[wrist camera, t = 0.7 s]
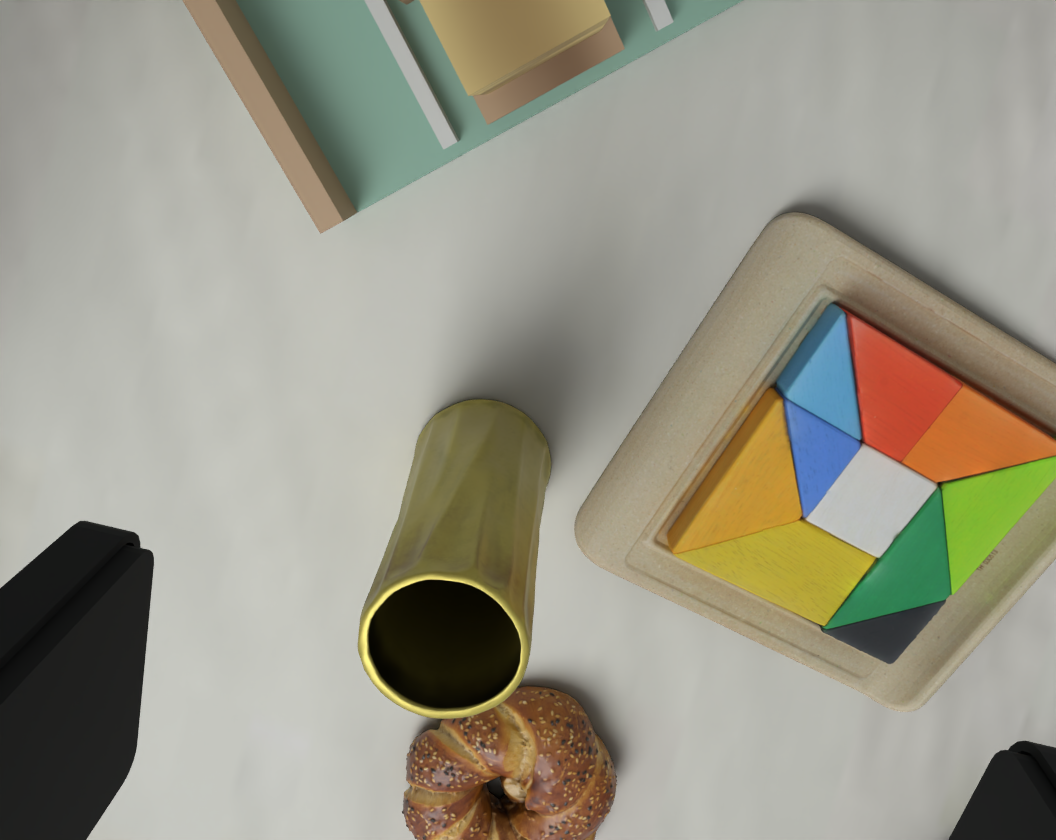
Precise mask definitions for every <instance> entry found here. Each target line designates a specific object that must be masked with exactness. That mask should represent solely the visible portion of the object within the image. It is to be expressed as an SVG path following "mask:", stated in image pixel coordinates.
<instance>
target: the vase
mask: <svg viewBox="0 0 1056 840" xmlns="http://www.w3.org/2000/svg"><path fill="white" fill-rule="evenodd" d="M550 472H551V458H550V452H549V447H548V444H547V442H546V439H545V437H544V436H543V434H542V433H541V431H540V430H539V429H538V427H537V426H536V425H535V423H534V422H533V421H532V420H531V419H530V418H529V417H528V416H527V415H525V414H524V413H523V412H521V411H519V410H518V409H516V408H514V407H512V406H510V405H508V404H505V403H503V402H499V401H494V400H485V399H476V400H467V401H462V402H460V403H457V404H455V405H452V406H450V407H448V408H446V409H444V410H442V411H441V412H439V413H438V414H436V415H435V416H434V417H433V418H432V419H431V420H430V421H429V422H428V424H427V425H426V426H425V428H424V429H423V430H422V432H421V434H420V435H419V438H418V440H417V444H416V448H415V454H414V459H413V463H412V467H411V471H410V474H409V478H408V481H407V486H406V489H405V493H404V497H403V501H402V505H401V509H400V514H399V518H398V521H397V523H396V525H395V527H394V529H393V532H392V535H391V537H390V540H389V543H388V545H387V548H386V551H385V554H384V556H383V559H382V562H381V564H380V567H379V569H378V571H377V574H376V577H375V579H374V582H373V584H372V587H371V590H370V592H369V594H368V596H367V599H366V601H365V604H364V607H363V610H362V613H361V617H360V626H359V636H358V652H359V655H360V658H361V661H362V664H363V667H364V670H365V672H366V673H367V675H368V676H369V678H370V679H371V681H372V682H373V684H374V685H375V686H376V687H377V688H378V690H379V691H380V692H381V693H382V694H384V695H385V696H386V697H387V698H388V699H390V700H391V701H392V702H394V703H395V704H397V705H399V706H400V707H402V708H404V709H406V710H408V711H411V712H413V713H416V714H418V715H421V716H425V717H429V718H440V719H452V718H463V717H469V716H473V715H476V714H479V713H482V712H485V711H487V710H489V709H491V708H493V707H495V706H497V705H499V704H500V703H502V702H503V701H505V700H506V699H507V698H508V697H509V696H510V695H511V694H512V693H513V692H514V691H515V690H516V688H517V687H518V685H519V684H520V682H521V680H522V679H523V677H524V674H525V671H526V668H527V664H528V660H529V656H530V650H531V641H532V625H533V614H534V599H535V580H536V566H537V557H538V546H539V528H540V523H541V517H542V511H543V506H544V499H545V490H546V487H547V484H548V481H549V478H550Z"/></svg>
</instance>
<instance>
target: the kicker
mask: <svg viewBox="0 0 1056 840" xmlns="http://www.w3.org/2000/svg"><path fill="white" fill-rule="evenodd" d="M399 1H401V2H403V3H405V4H406V5H407V4H409V3H411V2H412V1H414V0H399ZM419 1H420V3H421V4H422V6H423V8H424V10H425V12H426V14H427V16H428V18H429V20H430V22H431V24H432V26H433V28H434V30H435V32H436V34H437V36H438V38H439V40H440V42H441V44H442V46H443V48H444V49H445V51H446V53H447V55H448V57H449V59H450V61H451V63H452V65H453V67H454V69H455V71H456V73H457V75H458V77H459V79H460V81H461V83H462V85H463V87H464V89H465V91H466V93H467V94H468V96H473V97H474V99H475V101H476V103H477V105H478V107H479V109H480V111H481V113H482V115H483V117H484V119H485V121H486V123H487V125H489V124H491V123H492V122H494V121H496V120H498V119H500V118H502V117H503V116H505V115H507V114H509V113H511V112H512V111H514V110H516V109H518V108H520V107H521V106H523V105H525V104H527V103H529V102H530V101H532V100H534V99H536V98H538V97H539V96H541V95H543V94H545V93H547V92H548V91H550V90H552V89H554V88H556V87H557V86H559V85H561V84H563V83H565V82H567V81H568V80H570V79H572V78H574V77H576V76H577V75H579V74H581V73H583V72H585V71H586V70H588V69H590V68H592V67H594V66H595V65H597V64H599V63H601V62H603V61H604V60H606V59H608V58H610V57H612V56H613V55H615V54H617V53H619V52H621V51H622V50H624V49H625V48H624V46H623V43H622V41H621V39H620V37H619V34H618V32H617V30H616V28H615V26H614V23H613V21H612V19H611V17H610V16H611V15H610V13H609V10H608V8H607V6H606V4H605V1H604V0H419Z"/></svg>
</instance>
